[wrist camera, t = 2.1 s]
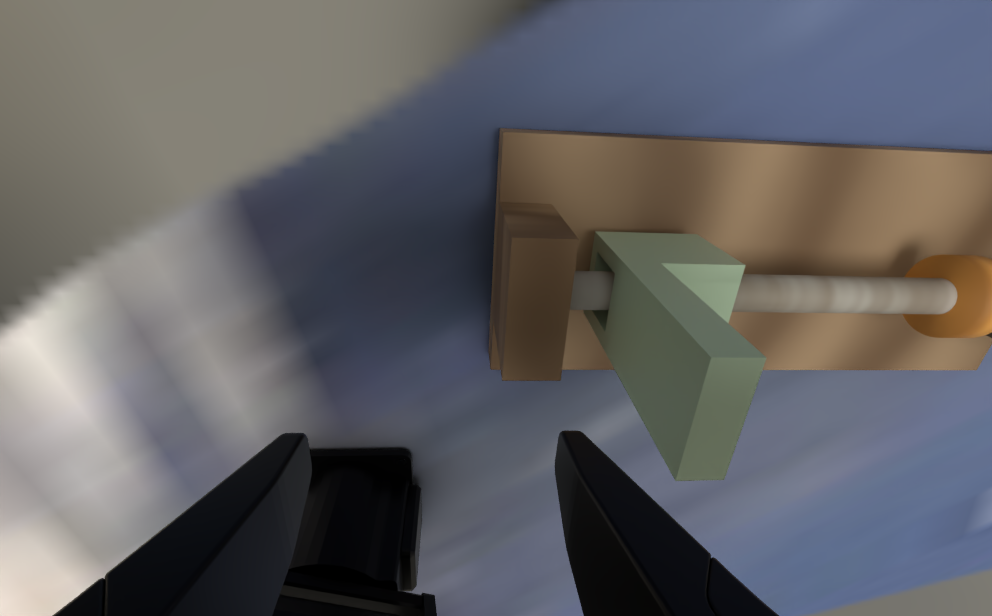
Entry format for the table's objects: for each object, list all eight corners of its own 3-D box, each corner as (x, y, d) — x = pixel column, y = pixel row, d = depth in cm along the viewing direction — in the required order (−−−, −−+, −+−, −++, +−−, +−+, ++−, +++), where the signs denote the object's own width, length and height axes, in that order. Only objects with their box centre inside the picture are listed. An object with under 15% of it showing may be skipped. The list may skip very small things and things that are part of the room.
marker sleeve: (583, 312, 19) (675, 480, 11) (595, 231, 18) (711, 357, 10) (677, 313, 19) (833, 477, 11) (696, 234, 18) (891, 357, 10)
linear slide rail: (488, 352, 22) (498, 438, 17) (499, 128, 18) (517, 148, 13) (947, 354, 24) (1087, 431, 19) (1056, 154, 20) (1275, 180, 15)
